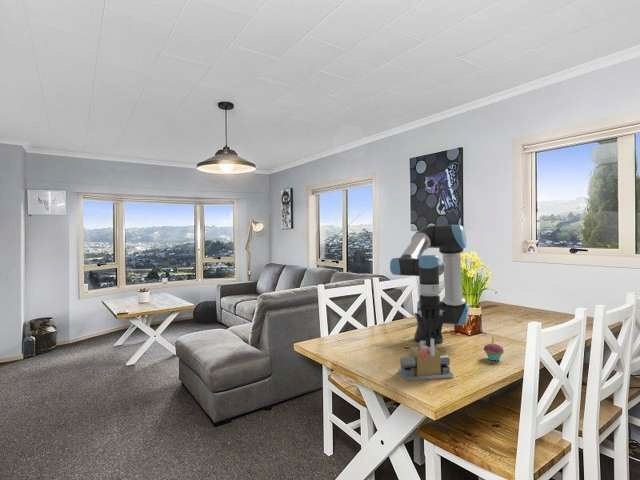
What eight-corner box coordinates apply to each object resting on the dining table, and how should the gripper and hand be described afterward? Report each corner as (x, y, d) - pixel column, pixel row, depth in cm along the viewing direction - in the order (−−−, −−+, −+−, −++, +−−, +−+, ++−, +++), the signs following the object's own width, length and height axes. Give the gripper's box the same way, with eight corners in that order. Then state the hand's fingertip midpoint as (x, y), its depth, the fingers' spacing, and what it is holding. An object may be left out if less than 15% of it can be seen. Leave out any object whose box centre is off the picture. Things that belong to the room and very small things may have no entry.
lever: (419, 347, 154) (419, 340, 154) (429, 348, 153) (429, 341, 153) (418, 359, 139) (418, 351, 139) (429, 360, 138) (428, 352, 138)
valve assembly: (441, 368, 158) (441, 344, 158) (453, 377, 148) (453, 351, 148) (397, 371, 155) (397, 346, 155) (406, 381, 145) (406, 354, 145)
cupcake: (502, 363, 163) (502, 337, 163) (482, 360, 167) (482, 334, 167) (504, 358, 170) (504, 332, 170) (484, 355, 175) (484, 330, 175)
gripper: (418, 297, 137) (420, 359, 137) (449, 294, 139) (451, 355, 139) (409, 294, 144) (411, 353, 144) (439, 292, 147) (441, 350, 147)
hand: (431, 354), depth 142 cm, fingers closed
